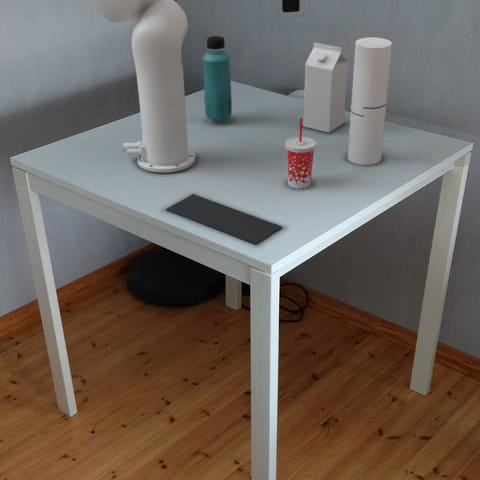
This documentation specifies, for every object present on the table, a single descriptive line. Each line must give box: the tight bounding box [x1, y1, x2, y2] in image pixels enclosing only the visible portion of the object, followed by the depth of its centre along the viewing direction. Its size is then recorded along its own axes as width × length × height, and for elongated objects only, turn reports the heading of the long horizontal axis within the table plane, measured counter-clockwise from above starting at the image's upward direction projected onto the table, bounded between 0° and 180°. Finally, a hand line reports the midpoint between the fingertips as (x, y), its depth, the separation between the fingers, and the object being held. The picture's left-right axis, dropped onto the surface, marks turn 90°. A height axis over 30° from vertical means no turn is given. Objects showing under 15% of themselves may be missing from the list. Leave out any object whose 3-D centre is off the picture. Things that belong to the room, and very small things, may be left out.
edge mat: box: [165, 193, 283, 246], centre depth 150 cm, size 22×8×1 cm, turn 51°
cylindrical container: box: [347, 37, 393, 166], centre depth 166 cm, size 7×7×25 cm
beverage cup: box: [284, 117, 317, 190], centre depth 159 cm, size 6×6×14 cm
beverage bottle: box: [202, 35, 233, 121], centre depth 186 cm, size 6×7×20 cm
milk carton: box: [302, 42, 349, 134], centre depth 183 cm, size 7×7×19 cm
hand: (286, 5), depth 152 cm, fingers open, 9 cm apart
